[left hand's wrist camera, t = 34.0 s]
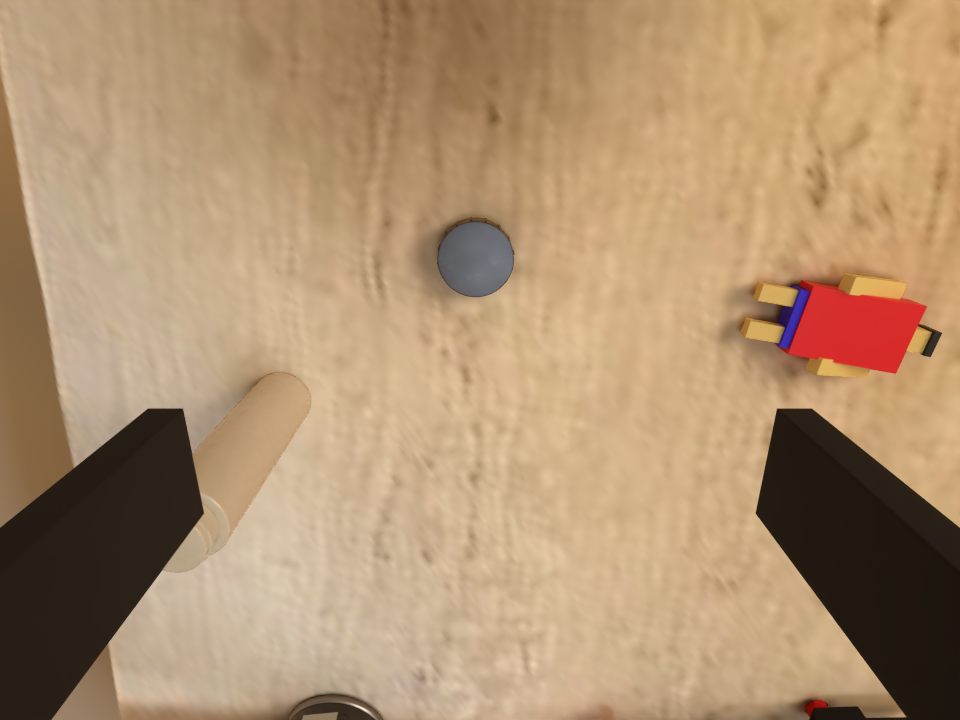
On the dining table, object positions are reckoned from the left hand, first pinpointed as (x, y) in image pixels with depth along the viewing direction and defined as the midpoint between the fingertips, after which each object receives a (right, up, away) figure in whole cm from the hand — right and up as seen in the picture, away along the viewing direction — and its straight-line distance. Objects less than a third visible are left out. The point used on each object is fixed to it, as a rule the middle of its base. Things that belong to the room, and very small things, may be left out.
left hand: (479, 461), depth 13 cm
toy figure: (+24, +5, +27) cm, 37 cm away
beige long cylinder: (-14, -1, +29) cm, 33 cm away
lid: (0, +9, +24) cm, 26 cm away
